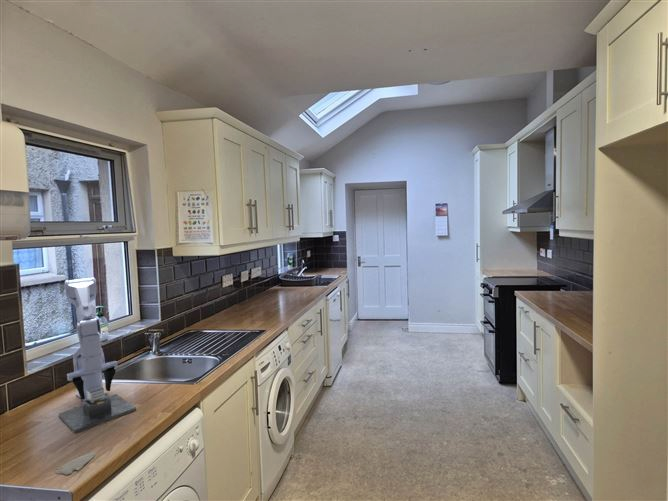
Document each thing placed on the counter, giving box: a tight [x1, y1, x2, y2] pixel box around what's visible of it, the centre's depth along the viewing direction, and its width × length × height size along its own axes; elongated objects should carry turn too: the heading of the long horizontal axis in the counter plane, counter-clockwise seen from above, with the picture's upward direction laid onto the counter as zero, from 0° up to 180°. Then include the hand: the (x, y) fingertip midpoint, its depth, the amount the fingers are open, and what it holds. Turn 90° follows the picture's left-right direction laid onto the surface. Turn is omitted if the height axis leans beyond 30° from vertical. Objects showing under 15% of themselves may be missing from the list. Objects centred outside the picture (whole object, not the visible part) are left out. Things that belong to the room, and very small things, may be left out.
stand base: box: [58, 394, 137, 434], centre depth 133 cm, size 18×18×5 cm
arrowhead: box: [54, 451, 97, 476], centre depth 105 cm, size 7×2×10 cm
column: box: [86, 385, 106, 405], centre depth 133 cm, size 4×4×7 cm
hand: (95, 394), depth 132 cm, fingers open, 7 cm apart
